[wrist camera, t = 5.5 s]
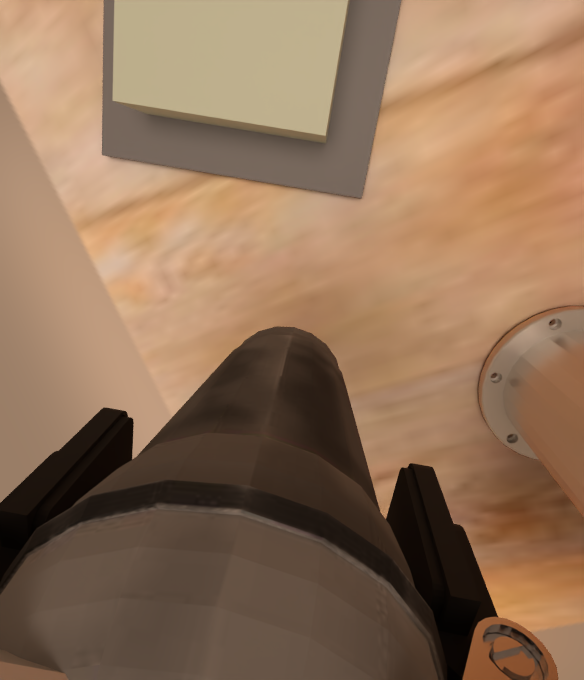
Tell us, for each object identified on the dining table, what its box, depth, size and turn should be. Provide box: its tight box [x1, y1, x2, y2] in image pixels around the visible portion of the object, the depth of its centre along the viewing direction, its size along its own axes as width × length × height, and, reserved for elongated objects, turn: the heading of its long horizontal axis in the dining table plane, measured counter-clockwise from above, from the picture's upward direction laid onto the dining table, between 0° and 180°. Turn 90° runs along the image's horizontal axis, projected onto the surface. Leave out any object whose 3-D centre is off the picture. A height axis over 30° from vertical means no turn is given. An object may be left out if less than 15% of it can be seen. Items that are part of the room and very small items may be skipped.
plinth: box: [102, 0, 401, 198], centre depth 26 cm, size 18×18×6 cm
